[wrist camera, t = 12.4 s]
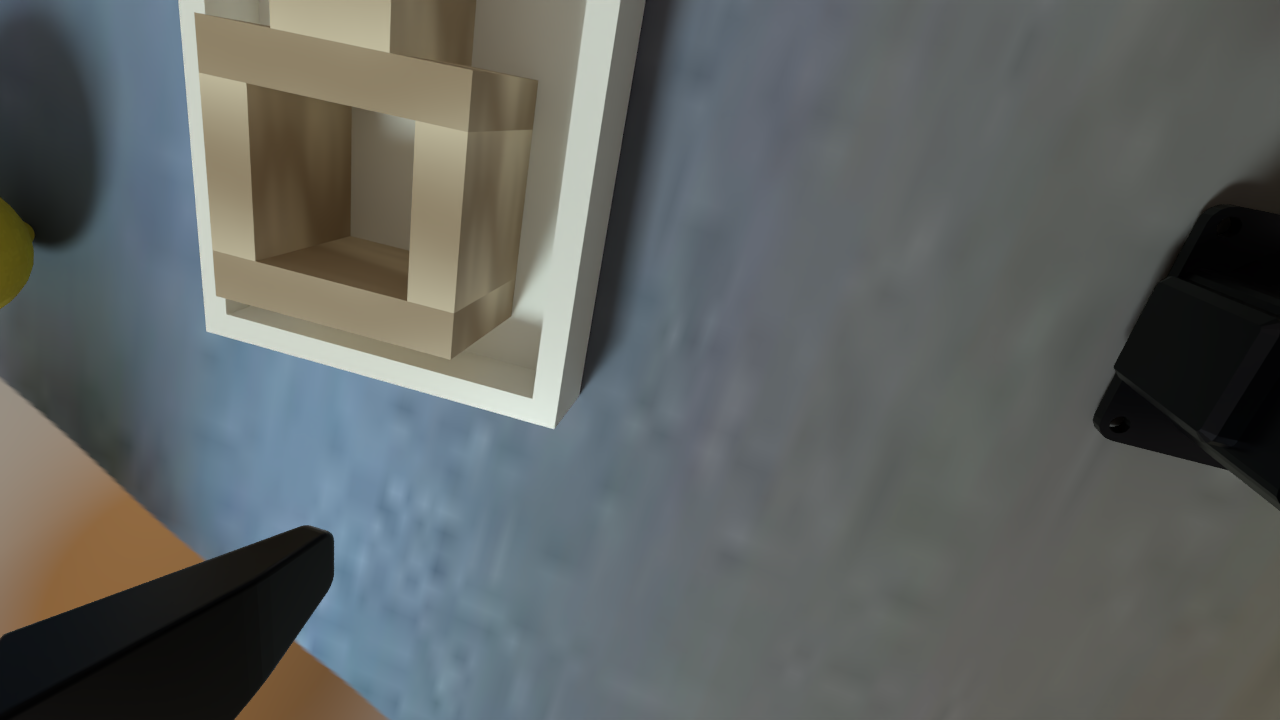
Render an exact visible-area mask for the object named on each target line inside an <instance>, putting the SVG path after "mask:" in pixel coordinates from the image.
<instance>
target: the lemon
mask: <svg viewBox="0 0 1280 720" xmlns="http://www.w3.org/2000/svg"><path fill="white" fill-rule="evenodd" d="M34 237H35V234H34V230H33V229H32V227H31V226H30V225H29V224H27V223H26V222H24V221H22V219H21V218H20V217H19V215H18V214H17V213H16V212H15V211H14V209H13V208H12V207H11V206H10V205H9V204H8V203H7V202H5V201H4V200H3V199H2V198H1V197H0V309H1V308H2V307H4V306H5V305H7V304H8V303H9V302H11V301H12V300H13V299H14V298H15V297H16V296H17V294H18V293H19V292H20V291H21V289H22V288H23V287H24V285H25V284H26V282H27V281H28V279H29V276H30V273H31V270H32V267H33V257H34V250H33V244H32V242H33V239H34Z"/></svg>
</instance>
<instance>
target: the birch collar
mask: <svg viewBox="0 0 1280 720" xmlns="http://www.w3.org/2000/svg"><path fill="white" fill-rule="evenodd" d="M269 8H270V26H267V25H262V24H256V23H251V22H245V21H240V20H234V19H228V18H223V17H217V16H212V15H206V14H201V13H195V12H194V17H195V30H196V43H197V56H198V69H199V82H200V95H201V108H202V121H203V134H204V147H205V159H206V172H207V185H208V198H209V211H210V224H211V237H212V250H213V263H214V276H215V289H216V296H218V297H221V298H225V299H229V300H232V301H236V302H240V303H243V304H247V305H251V306H254V307H258V308H262V309H265V310H269V311H273V312H276V313H280V314H284V315H287V316H291V317H295V318H299V319H302V320H306V321H310V322H313V323H317V324H321V325H324V326H328V327H332V328H335V329H339V330H343V331H346V332H350V333H354V334H357V335H361V336H365V337H368V338H372V339H376V340H379V341H383V342H387V343H390V344H394V345H398V346H401V347H405V348H409V349H412V350H416V351H420V352H423V353H427V354H431V355H434V356H438V357H442V358H445V359H449V360H451V359H452V358H454V357H455V356H457V355H458V354H459V353H461V352H462V351H464V350H465V349H466V348H468V347H469V346H471V345H472V344H473V343H475V342H476V341H478V340H479V339H480V338H482V337H483V336H485V335H486V334H487V333H489V332H490V331H492V330H493V329H494V328H496V327H497V326H499V325H500V324H501V323H503V322H504V321H506V320H507V319H508V318H510V317H511V315H512V307H513V298H514V289H515V280H516V272H517V263H518V254H519V246H520V237H521V228H522V219H523V211H524V202H525V193H526V185H527V176H528V167H529V158H530V150H531V141H532V132H533V123H534V115H535V106H536V97H537V89H538V80H534V79H529V78H524V77H519V76H515V75H510V74H505V73H500V72H495V71H490V70H486V69H481V68H476V67H471V65H472V52H473V39H474V26H475V12H476V0H269ZM352 107H356V108H361V109H365V110H370V111H374V112H379V113H383V114H388V115H393V116H397V117H402V118H406V119H411V120H415V141H414V163H413V185H412V206H411V228H410V250H409V251H408V250H404V249H400V248H396V247H392V246H388V245H384V244H380V243H376V242H372V241H368V240H364V239H360V238H356V237H352V236H351V128H352Z"/></svg>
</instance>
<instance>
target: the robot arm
mask: <svg viewBox="0 0 1280 720" xmlns="http://www.w3.org/2000/svg"><path fill="white" fill-rule="evenodd" d="M1227 217H1230V219H1231V226H1230V228H1229V229H1228V230H1227V231H1226V232H1225V233H1223V234H1221V235H1218V234H1217V231H1216V230H1217V225H1218V224H1219V223H1220V222H1221V221H1222V220H1223V219H1225V218H1227ZM1114 369H1115V371H1116V374H1115V376H1114V378H1113V380H1112V382H1111V384H1110V386H1109V388H1108V390H1107V391H1106V393H1105V395H1104V397H1103V399H1102V401H1101V403H1100V405H1099V407H1098V408H1097V410H1096V412H1095V414H1094V418H1093V423H1094V426H1095V428H1096V429H1097V430H1098V431H1099V432H1100V433H1101V434H1102V435H1103V436H1104V437H1105V438H1107V439H1109V440H1112V441H1115V442H1119V443H1123V444H1127V445H1131V446H1135V447H1139V448H1143V449H1147V450H1151V451H1155V452H1159V453H1163V454H1167V455H1171V456H1175V457H1179V458H1182V459H1186V460H1190V461H1194V462H1198V463H1202V464H1206V465H1210V466H1214V467H1218V468H1222V469H1226V470H1229V471H1230V472H1232V473H1233V474H1234V475H1235V476H1237V477H1238V478H1239V479H1240V480H1242V481H1243V482H1244V483H1245V484H1247V485H1248V486H1249V487H1250V488H1252V489H1253V490H1254V491H1255V492H1257V493H1258V494H1259V495H1261V496H1262V497H1263V498H1264V499H1266V500H1267V501H1268V502H1269V503H1271V504H1272V505H1273V506H1274V507H1276V508H1277V509H1278V510H1279V511H1280V215H1278V214H1274V213H1269V212H1264V211H1259V210H1254V209H1249V208H1244V207H1239V206H1234V205H1217V206H1214V207H1211V208H1210V209H1208V210H1207V211H1205V212H1204V213H1203V214H1202V215H1201V216H1200V217H1199V219H1198V220H1197V222H1196V224H1195V225H1194V227H1193V229H1192V231H1191V233H1190V235H1189V237H1188V239H1187V240H1186V242H1185V244H1184V246H1183V248H1182V250H1181V252H1180V254H1179V256H1178V257H1177V259H1176V261H1175V263H1174V265H1173V267H1172V269H1171V271H1170V273H1169V274H1168V276H1167V278H1166V279H1164V280H1162V281H1160V282H1159V283H1158V284H1157V285H1156V287H1155V289H1154V291H1153V293H1152V294H1151V296H1150V298H1149V300H1148V302H1147V304H1146V306H1145V308H1144V310H1143V312H1142V313H1141V315H1140V317H1139V319H1138V321H1137V323H1136V325H1135V327H1134V329H1133V331H1132V332H1131V334H1130V336H1129V338H1128V340H1127V342H1126V344H1125V346H1124V348H1123V350H1122V351H1121V353H1120V355H1119V357H1118V359H1117V361H1116V363H1115V365H1114ZM1117 417H1124V420H1123V422H1122V423H1121V424H1120V425H1118V426H1115V427H1109V426H1110V422H1111V421H1112V420H1113V419H1114V418H1117ZM333 577H334V538H333V535H332V534H331V533H330V532H329V531H326V530H323V529H319V528H316V527H313V526H309V525H305V526H300V527H297V528H295V529H292V530H289V531H286V532H284V533H281V534H278V535H275V536H273V537H270V538H267V539H264V540H262V541H259V542H256V543H254V544H251V545H248V546H245V547H243V548H240V549H237V550H234V551H232V552H229V553H226V554H223V555H221V556H218V557H215V558H212V559H210V560H207V561H204V562H202V563H199V564H196V565H193V566H191V567H188V568H185V569H182V570H180V571H177V572H174V573H171V574H168V575H166V576H163V577H160V578H157V579H155V580H152V581H149V582H146V583H144V584H141V585H138V586H135V587H133V588H130V589H127V590H125V591H122V592H119V593H116V594H114V595H111V596H108V597H105V598H103V599H100V600H97V601H94V602H92V603H89V604H86V605H84V606H81V607H78V608H75V609H72V610H70V611H67V612H64V613H61V614H59V615H56V616H53V617H50V618H48V619H45V620H42V621H39V622H37V623H34V624H31V625H28V626H26V627H23V628H20V629H17V630H15V631H12V632H9V633H7V634H4V635H3V636H2V637H1V638H0V720H234V719H235V718H236V717H237V715H238V714H239V713H240V712H241V711H242V709H243V708H244V707H245V706H246V705H247V704H248V702H249V701H250V700H251V698H252V697H253V696H254V695H255V694H256V692H257V691H258V690H259V689H260V687H261V686H262V685H263V683H264V682H265V681H266V680H267V678H268V677H269V675H270V674H271V673H272V671H273V670H274V668H275V667H276V665H277V664H278V663H279V661H280V660H281V658H282V657H283V656H284V654H285V652H286V651H287V650H288V648H289V646H290V645H291V644H292V643H293V641H294V640H295V638H296V637H297V635H298V634H299V632H300V631H301V629H302V628H303V627H304V625H305V624H306V622H307V621H308V619H309V618H310V616H311V615H312V614H313V612H314V611H315V609H316V608H317V606H318V605H319V603H320V602H321V600H322V599H323V598H324V596H325V595H326V593H327V592H328V590H329V588H330V586H331V584H332V581H333Z"/></svg>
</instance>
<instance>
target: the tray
mask: <svg viewBox="0 0 1280 720" xmlns="http://www.w3.org/2000/svg"><path fill="white" fill-rule="evenodd" d="M645 2H646V0H476V12H475V26H474V39H473V52H472V65H471V67H476V68H481V69H486V70H490V71H495V72H500V73H505V74H510V75H515V76H519V77H524V78H529V79H534V80H538V89H537V97H536V106H535V115H534V123H533V132H532V141H531V150H530V158H529V167H528V176H527V185H526V193H525V202H524V211H523V219H522V228H521V237H520V246H519V254H518V263H517V272H516V280H515V289H514V298H513V307H512V315H511V317H510V318H508V319H507V320H506V321H504V322H503V323H501V324H500V325H499V326H497V327H496V328H494V329H493V330H492V331H490V332H489V333H487V334H486V335H485V336H483V337H482V338H480V339H479V340H478V341H476V342H475V343H473V344H472V345H471V346H469V347H468V348H466V349H465V350H464V351H462V352H461V353H459V354H458V355H457V356H455V357H454V358H452V359H451V360H449V359H445V358H442V357H438V356H434V355H431V354H427V353H423V352H420V351H416V350H412V349H409V348H405V347H401V346H398V345H394V344H390V343H387V342H383V341H379V340H376V339H372V338H368V337H365V336H361V335H357V334H354V333H350V332H346V331H343V330H339V329H335V328H332V327H328V326H324V325H321V324H317V323H313V322H310V321H306V320H302V319H299V318H295V317H291V316H287V315H284V314H280V313H276V312H273V311H269V310H265V309H262V308H258V307H254V306H251V305H247V304H243V303H240V302H236V301H232V300H229V299H225V298H221V297H218V296H216V289H215V276H214V263H213V250H212V237H211V224H210V211H209V198H208V185H207V172H206V159H205V147H204V134H203V121H202V108H201V95H200V82H199V69H198V56H197V43H196V30H195V17H194V12H195V13H201V14H206V15H212V16H217V17H223V18H228V19H234V20H240V21H245V22H251V23H256V24H262V25H267V26H270V8H269V0H179V12H180V24H181V36H182V47H183V59H184V71H185V83H186V95H187V107H188V118H189V130H190V142H191V154H192V166H193V178H194V189H195V201H196V213H197V225H198V237H199V248H200V260H201V272H202V284H203V296H204V308H205V319H206V331H207V332H211V333H214V334H218V335H222V336H225V337H229V338H232V339H236V340H239V341H243V342H246V343H250V344H253V345H257V346H261V347H264V348H268V349H271V350H275V351H278V352H282V353H285V354H289V355H293V356H296V357H300V358H303V359H307V360H310V361H314V362H317V363H321V364H324V365H328V366H332V367H335V368H339V369H342V370H346V371H349V372H353V373H356V374H360V375H364V376H367V377H371V378H374V379H378V380H381V381H385V382H388V383H392V384H395V385H399V386H403V387H406V388H410V389H413V390H417V391H420V392H424V393H427V394H431V395H435V396H438V397H442V398H445V399H449V400H452V401H456V402H459V403H463V404H466V405H470V406H474V407H477V408H481V409H484V410H488V411H491V412H495V413H498V414H502V415H506V416H509V417H513V418H516V419H520V420H523V421H527V422H530V423H534V424H537V425H541V426H545V427H548V428H552V429H555V427H556V426H557V425H558V423H559V422H560V421H561V420H562V418H563V417H564V416H565V414H566V413H567V412H568V410H569V409H570V408H571V406H572V405H573V404H574V402H575V401H576V400H577V398H578V397H579V394H580V388H581V382H582V376H583V370H584V364H585V358H586V352H587V346H588V340H589V335H590V329H591V323H592V317H593V311H594V305H595V299H596V293H597V287H598V281H599V275H600V269H601V263H602V257H603V251H604V245H605V239H606V234H607V228H608V222H609V216H610V210H611V204H612V198H613V192H614V186H615V180H616V174H617V168H618V162H619V156H620V150H621V144H622V138H623V133H624V127H625V121H626V115H627V109H628V103H629V97H630V91H631V85H632V79H633V73H634V67H635V61H636V55H637V49H638V43H639V37H640V32H641V26H642V20H643V14H644V8H645ZM414 141H415V120H411V119H406V118H402V117H397V116H393V115H388V114H383V113H379V112H374V111H370V110H365V109H361V108H356V107H352V128H351V236H352V237H356V238H360V239H364V240H368V241H372V242H376V243H380V244H384V245H388V246H392V247H396V248H400V249H404V250H408V251H409V250H410V228H411V206H412V185H413V163H414Z"/></svg>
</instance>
